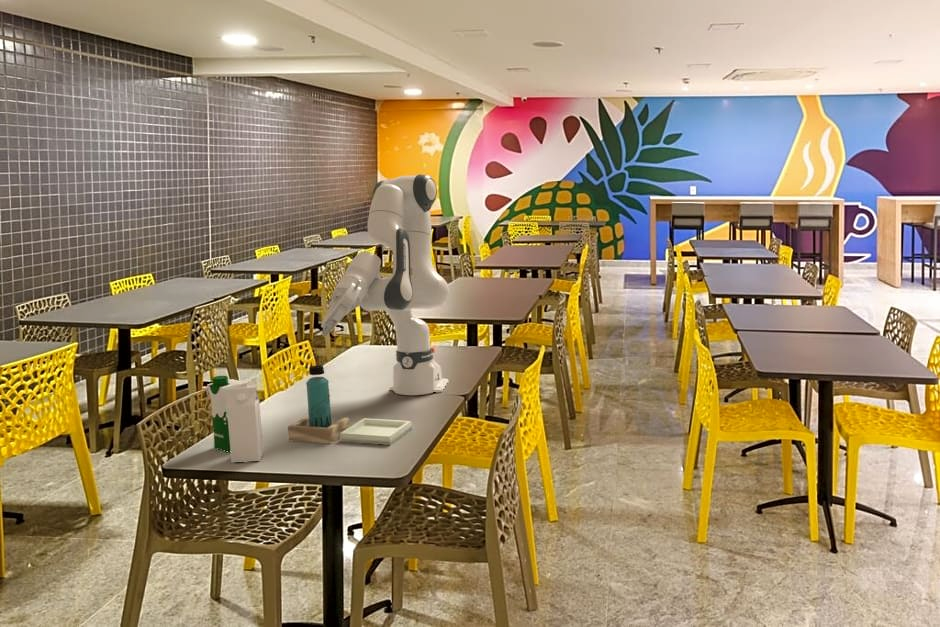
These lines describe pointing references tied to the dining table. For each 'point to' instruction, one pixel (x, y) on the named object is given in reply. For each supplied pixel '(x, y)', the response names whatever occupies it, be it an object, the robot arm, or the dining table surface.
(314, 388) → the beverage bottle
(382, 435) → the tray
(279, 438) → the dining table surface
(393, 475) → the dining table surface
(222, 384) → the soya milk
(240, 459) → the milk carton
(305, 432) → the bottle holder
